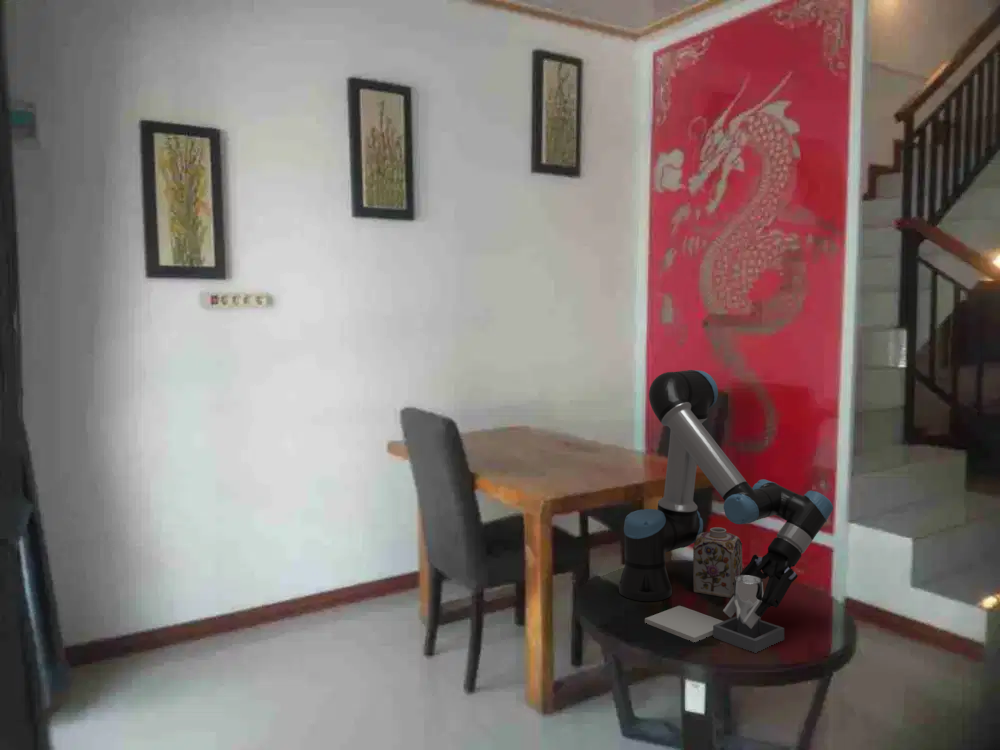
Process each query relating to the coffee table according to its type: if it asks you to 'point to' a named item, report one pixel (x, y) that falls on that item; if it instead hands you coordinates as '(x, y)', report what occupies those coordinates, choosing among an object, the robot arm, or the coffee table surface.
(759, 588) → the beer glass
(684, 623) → the board
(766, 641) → the holder
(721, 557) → the decorative jar
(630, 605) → the coffee table surface
